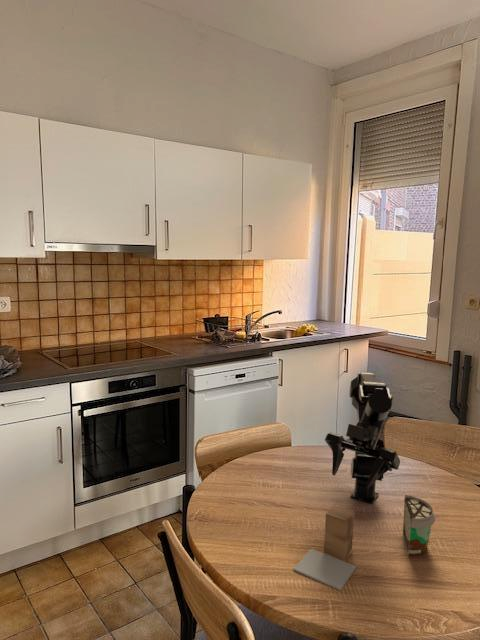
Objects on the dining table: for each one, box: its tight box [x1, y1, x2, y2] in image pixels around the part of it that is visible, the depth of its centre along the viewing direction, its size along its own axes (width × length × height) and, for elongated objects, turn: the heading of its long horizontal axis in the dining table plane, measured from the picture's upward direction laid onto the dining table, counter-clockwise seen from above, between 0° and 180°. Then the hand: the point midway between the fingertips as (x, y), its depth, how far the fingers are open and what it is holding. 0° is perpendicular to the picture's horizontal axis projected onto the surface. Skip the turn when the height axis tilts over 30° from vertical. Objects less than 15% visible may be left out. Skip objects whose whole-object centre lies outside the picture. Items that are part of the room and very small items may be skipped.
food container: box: [402, 494, 436, 558], centre depth 114 cm, size 12×6×10 cm, turn 168°
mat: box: [293, 548, 357, 591], centre depth 105 cm, size 9×11×1 cm
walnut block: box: [323, 504, 355, 562], centre depth 111 cm, size 5×5×10 cm
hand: (350, 480), depth 118 cm, fingers open, 9 cm apart
